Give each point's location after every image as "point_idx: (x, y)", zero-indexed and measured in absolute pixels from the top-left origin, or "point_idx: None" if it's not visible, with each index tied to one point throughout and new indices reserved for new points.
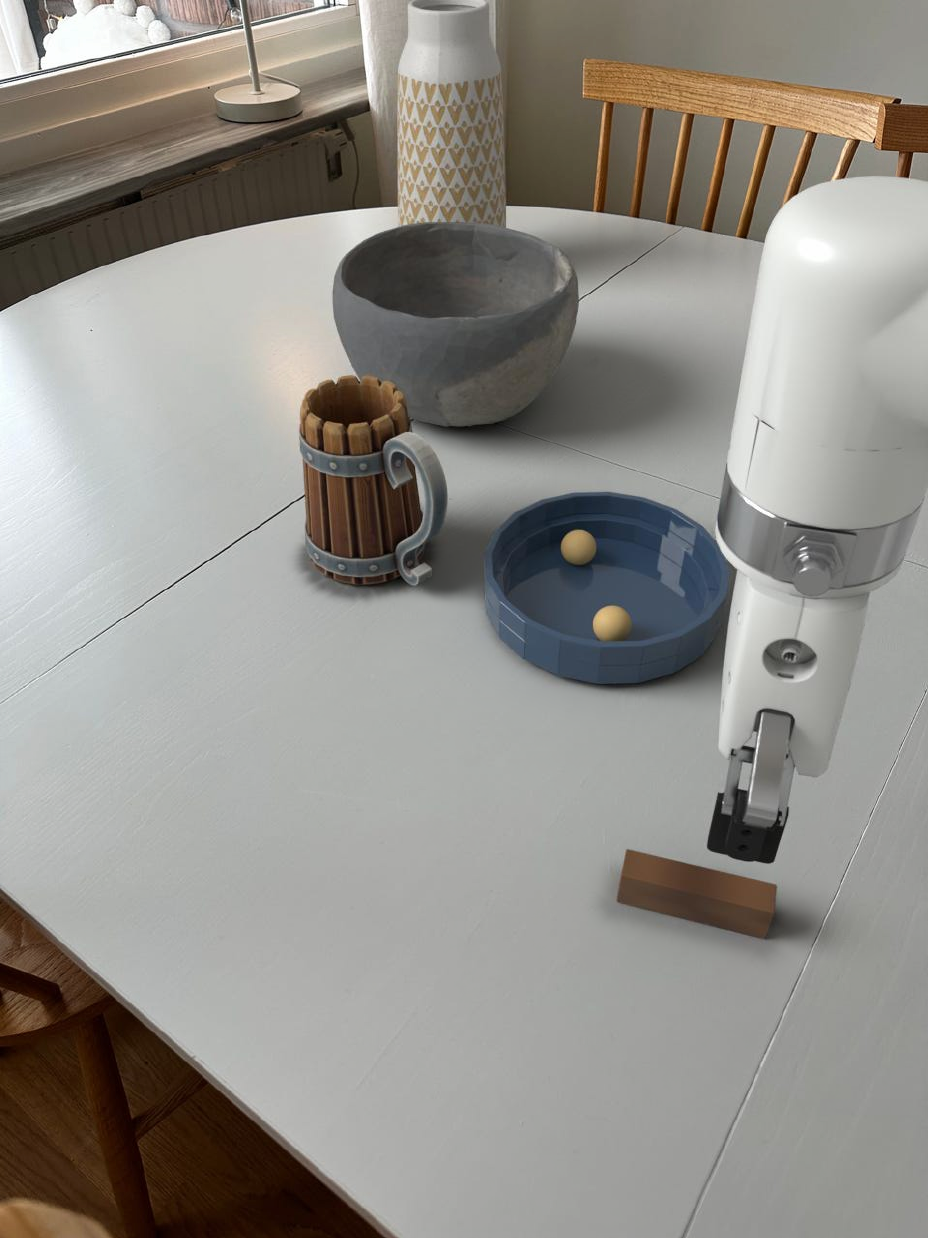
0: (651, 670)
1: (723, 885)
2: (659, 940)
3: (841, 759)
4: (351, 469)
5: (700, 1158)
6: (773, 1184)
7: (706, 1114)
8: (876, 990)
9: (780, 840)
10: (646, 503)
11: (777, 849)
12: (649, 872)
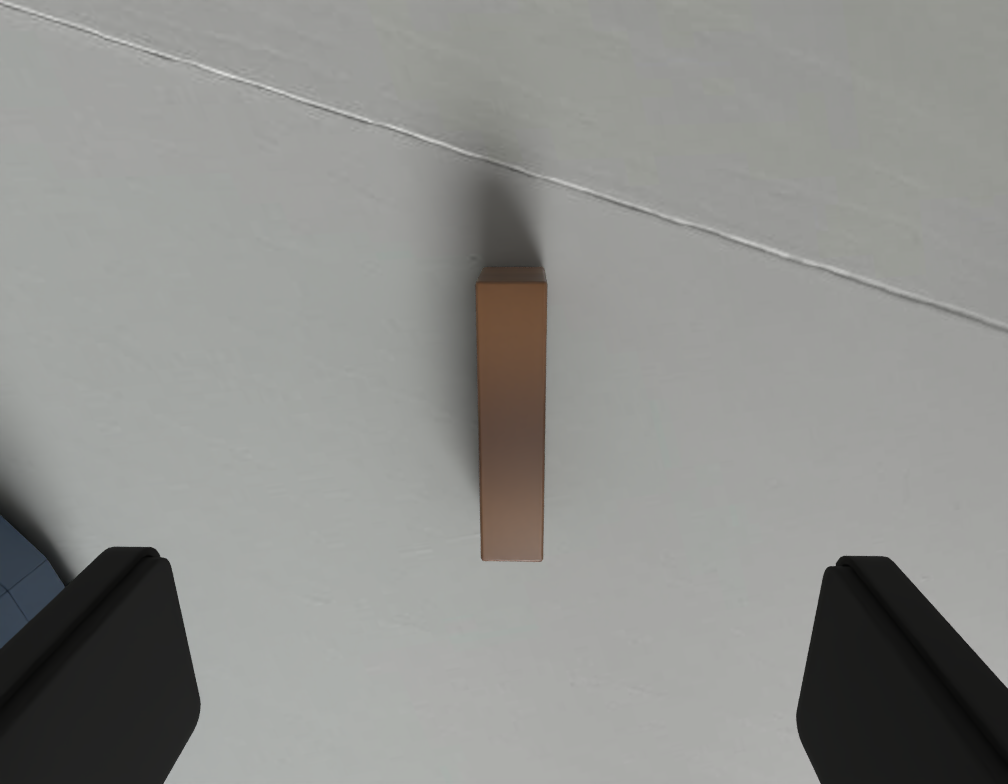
0: (6, 554)
1: (510, 386)
2: (593, 440)
3: (38, 128)
4: None
5: (952, 336)
6: (984, 220)
7: (882, 334)
8: (596, 42)
9: (980, 658)
10: None
11: (937, 612)
12: (521, 518)
